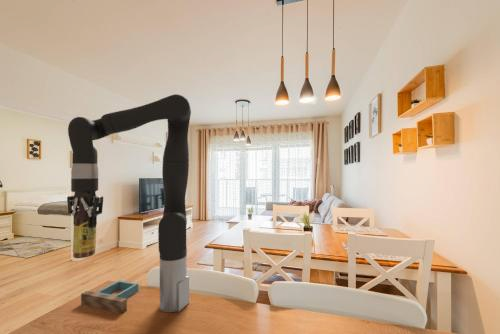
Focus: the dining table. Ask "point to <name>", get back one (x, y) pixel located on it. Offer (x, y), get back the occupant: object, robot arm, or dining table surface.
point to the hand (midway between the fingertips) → (84, 226)
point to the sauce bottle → (83, 234)
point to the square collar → (123, 285)
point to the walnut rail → (104, 302)
